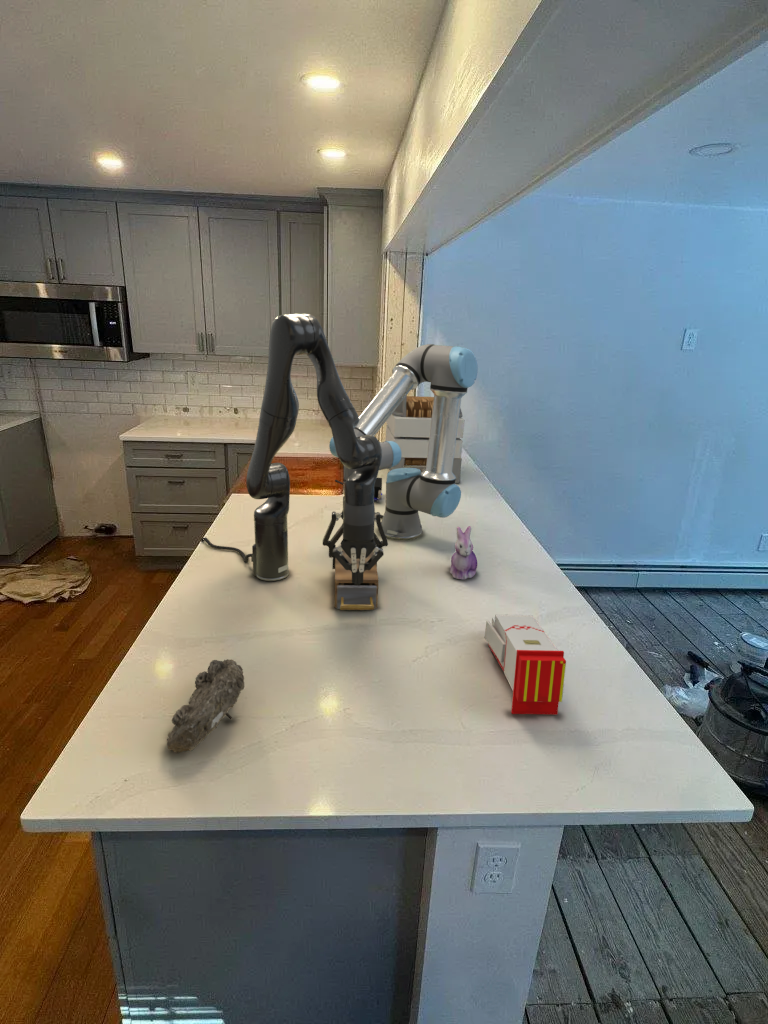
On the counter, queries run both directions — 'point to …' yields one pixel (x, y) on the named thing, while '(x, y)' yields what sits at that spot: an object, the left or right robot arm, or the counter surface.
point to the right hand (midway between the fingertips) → (354, 567)
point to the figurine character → (378, 489)
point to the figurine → (463, 556)
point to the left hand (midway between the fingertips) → (357, 584)
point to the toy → (527, 663)
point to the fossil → (206, 705)
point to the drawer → (356, 596)
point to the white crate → (418, 433)
